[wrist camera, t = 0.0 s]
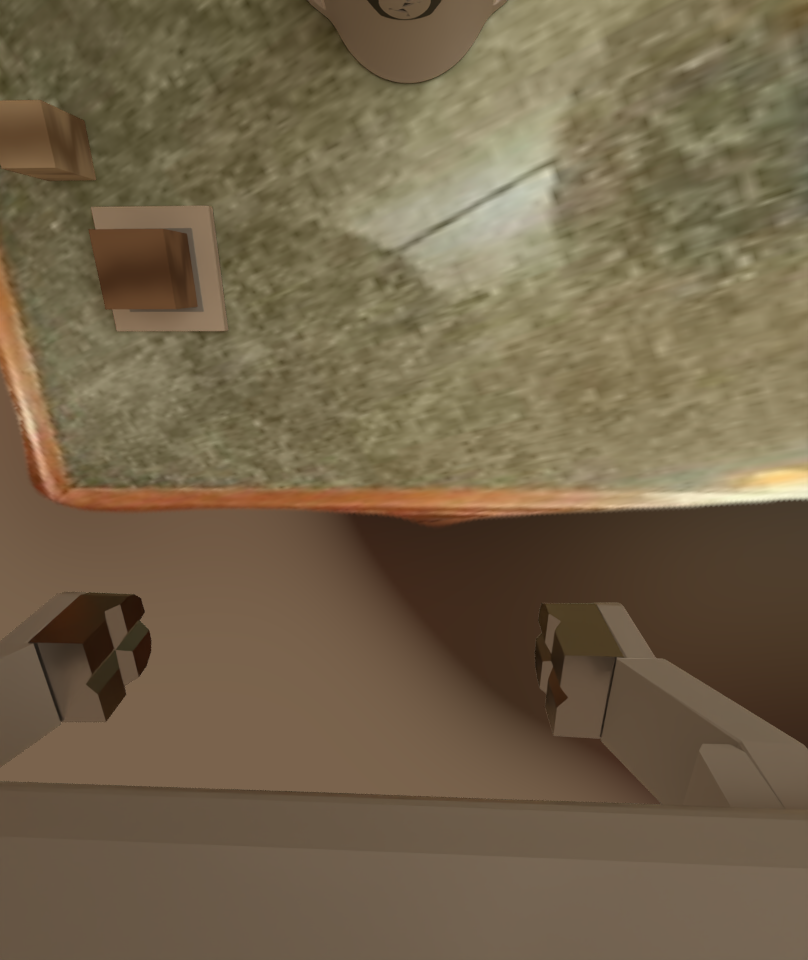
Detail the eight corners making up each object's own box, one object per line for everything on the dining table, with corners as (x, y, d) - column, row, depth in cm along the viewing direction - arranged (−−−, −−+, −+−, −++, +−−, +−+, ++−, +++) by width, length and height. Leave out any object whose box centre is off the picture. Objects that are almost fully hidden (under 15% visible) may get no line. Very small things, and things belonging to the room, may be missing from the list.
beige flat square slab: (97, 208, 51) (89, 206, 50) (212, 207, 50) (207, 205, 49) (122, 330, 55) (115, 331, 54) (228, 330, 55) (224, 331, 54)
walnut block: (119, 234, 51) (88, 229, 46) (187, 233, 50) (162, 228, 46) (133, 307, 53) (105, 309, 49) (197, 306, 53) (175, 309, 48)
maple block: (34, 121, 48) (-16, 100, 43) (84, 120, 48) (40, 99, 43) (48, 180, 50) (1, 168, 45) (96, 180, 50) (55, 167, 45)
